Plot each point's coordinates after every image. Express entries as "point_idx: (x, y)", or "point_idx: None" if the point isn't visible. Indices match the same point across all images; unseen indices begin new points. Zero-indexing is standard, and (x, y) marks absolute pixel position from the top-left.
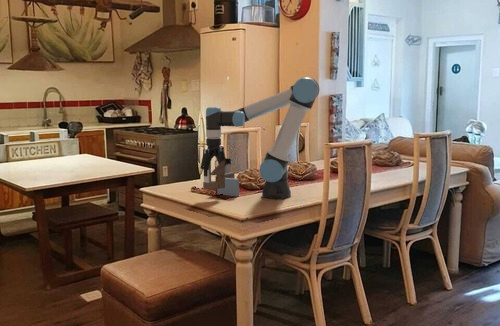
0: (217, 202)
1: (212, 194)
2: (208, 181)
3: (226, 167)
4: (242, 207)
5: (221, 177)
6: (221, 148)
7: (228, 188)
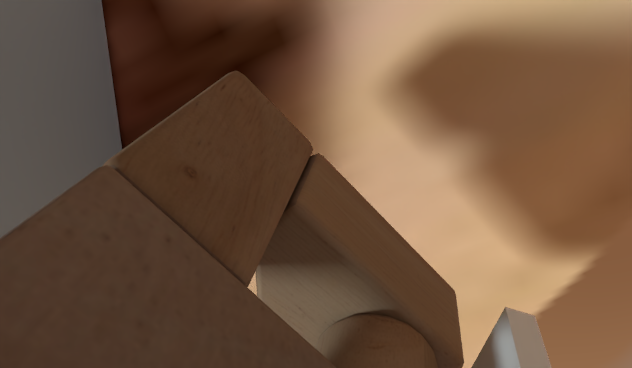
0: (472, 53)
1: None
2: (537, 334)
3: None
4: None
5: (216, 195)
6: None
7: (58, 98)
